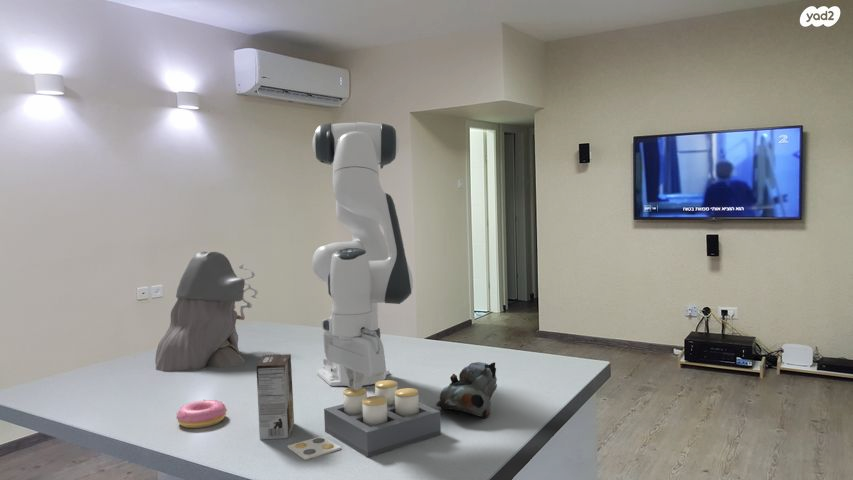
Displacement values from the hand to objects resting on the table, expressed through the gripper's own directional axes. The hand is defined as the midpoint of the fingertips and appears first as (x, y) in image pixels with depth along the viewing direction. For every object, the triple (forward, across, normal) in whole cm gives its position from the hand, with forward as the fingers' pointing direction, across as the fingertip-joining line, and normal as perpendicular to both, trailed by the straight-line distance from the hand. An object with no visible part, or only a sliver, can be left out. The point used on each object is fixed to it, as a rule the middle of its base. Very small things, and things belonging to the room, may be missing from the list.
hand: (355, 388), depth 132 cm
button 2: (+6, -8, 0) cm, 10 cm away
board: (+10, -4, -4) cm, 11 cm away
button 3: (+6, 0, -8) cm, 10 cm away
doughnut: (+10, +30, +24) cm, 40 cm away
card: (+10, -2, +11) cm, 15 cm away
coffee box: (+10, +12, +13) cm, 20 cm away
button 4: (+6, -8, -8) cm, 13 cm away
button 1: (+6, 0, 0) cm, 6 cm away
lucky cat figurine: (+10, -6, -26) cm, 29 cm away
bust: (+10, +91, +5) cm, 91 cm away
